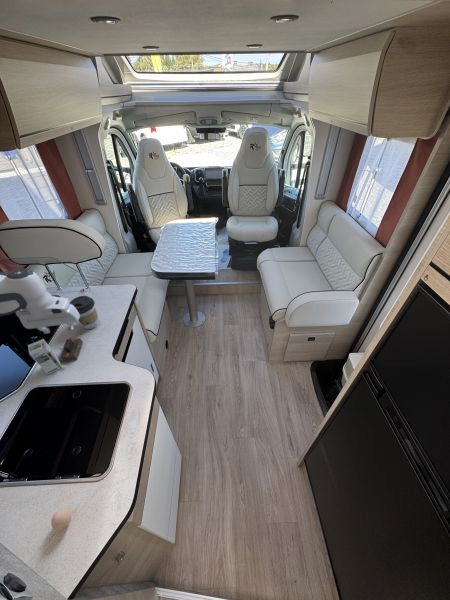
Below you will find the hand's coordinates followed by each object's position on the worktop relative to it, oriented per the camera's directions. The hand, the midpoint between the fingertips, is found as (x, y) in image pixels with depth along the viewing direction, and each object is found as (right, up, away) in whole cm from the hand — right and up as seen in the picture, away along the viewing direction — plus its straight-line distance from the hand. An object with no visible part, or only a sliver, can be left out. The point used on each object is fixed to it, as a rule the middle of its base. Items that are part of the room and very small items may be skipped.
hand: (59, 330), depth 106 cm
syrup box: (-5, -16, +4) cm, 17 cm away
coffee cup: (+2, +1, +22) cm, 22 cm away
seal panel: (0, -11, +9) cm, 14 cm away
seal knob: (0, -8, +7) cm, 11 cm away
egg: (+24, -49, -35) cm, 65 cm away
